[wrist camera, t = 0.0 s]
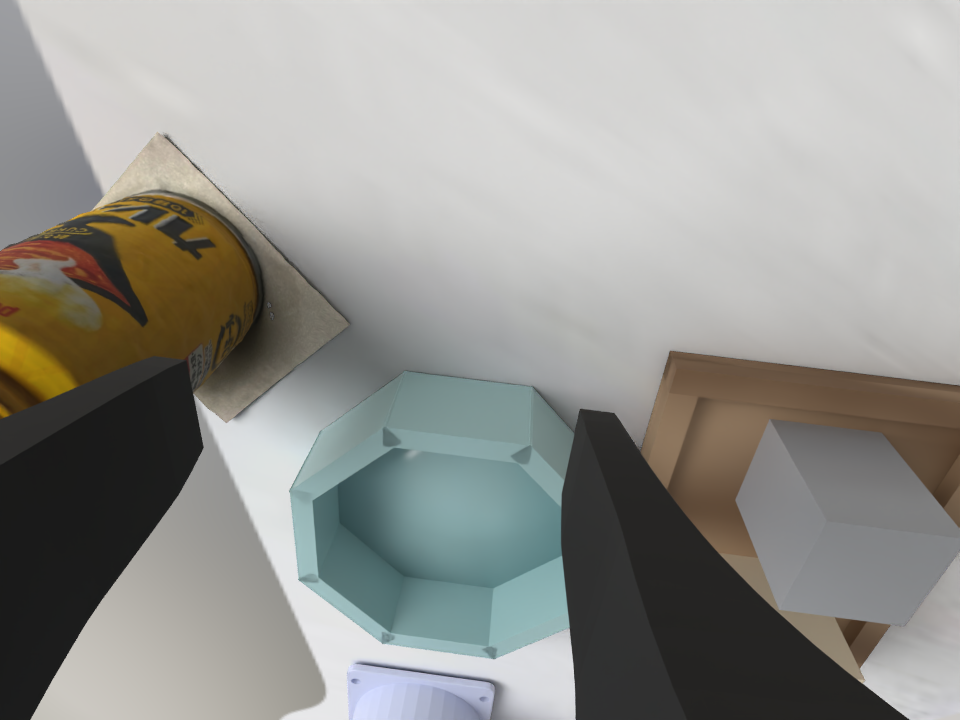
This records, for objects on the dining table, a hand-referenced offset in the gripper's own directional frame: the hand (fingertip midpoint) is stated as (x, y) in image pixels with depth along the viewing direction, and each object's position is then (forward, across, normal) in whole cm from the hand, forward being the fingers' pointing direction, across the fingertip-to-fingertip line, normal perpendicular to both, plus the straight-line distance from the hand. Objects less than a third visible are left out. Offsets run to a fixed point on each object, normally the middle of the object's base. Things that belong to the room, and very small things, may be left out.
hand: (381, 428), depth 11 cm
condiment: (+10, +9, +3) cm, 14 cm away
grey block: (+10, -14, +7) cm, 18 cm away
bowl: (+10, -1, +11) cm, 15 cm away
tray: (+10, -14, +10) cm, 20 cm away
